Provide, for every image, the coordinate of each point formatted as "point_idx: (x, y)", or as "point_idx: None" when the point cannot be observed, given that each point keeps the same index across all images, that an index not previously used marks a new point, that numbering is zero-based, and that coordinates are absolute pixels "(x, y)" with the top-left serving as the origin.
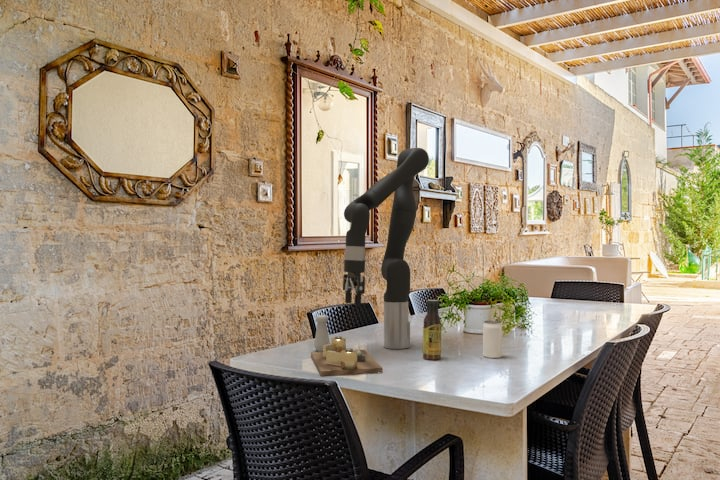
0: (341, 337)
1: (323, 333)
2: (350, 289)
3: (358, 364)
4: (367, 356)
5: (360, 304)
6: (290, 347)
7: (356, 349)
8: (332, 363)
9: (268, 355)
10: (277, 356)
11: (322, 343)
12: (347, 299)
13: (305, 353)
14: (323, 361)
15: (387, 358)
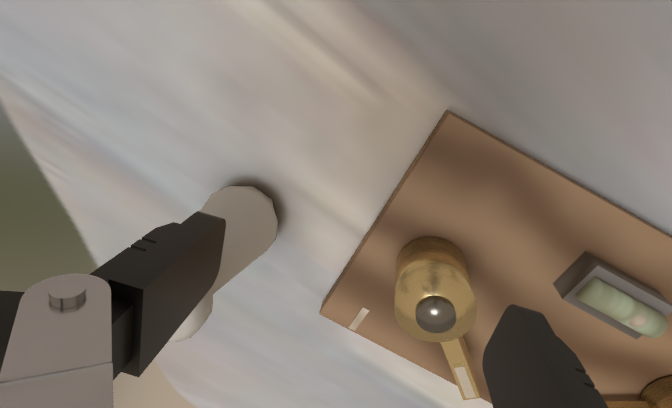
0: (455, 312)
1: (243, 264)
2: (63, 343)
3: (668, 342)
4: (591, 216)
5: (540, 319)
6: None
7: (592, 301)
8: None
9: (214, 371)
10: (246, 364)
11: (267, 247)
12: (199, 287)
13: (257, 282)
14: None
15: (638, 91)
